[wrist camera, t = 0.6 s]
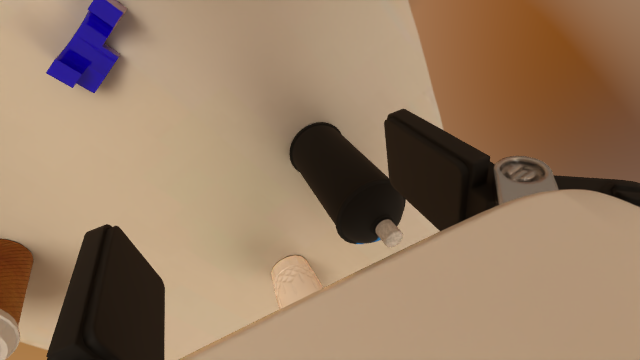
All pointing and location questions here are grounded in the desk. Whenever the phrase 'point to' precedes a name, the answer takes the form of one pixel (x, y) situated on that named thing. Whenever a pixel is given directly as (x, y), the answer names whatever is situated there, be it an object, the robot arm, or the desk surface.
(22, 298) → the disposable coffee cup
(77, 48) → the cable holder
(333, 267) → the desk surface
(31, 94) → the desk surface
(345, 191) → the aerosol can
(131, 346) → the robot arm
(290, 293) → the white cup
